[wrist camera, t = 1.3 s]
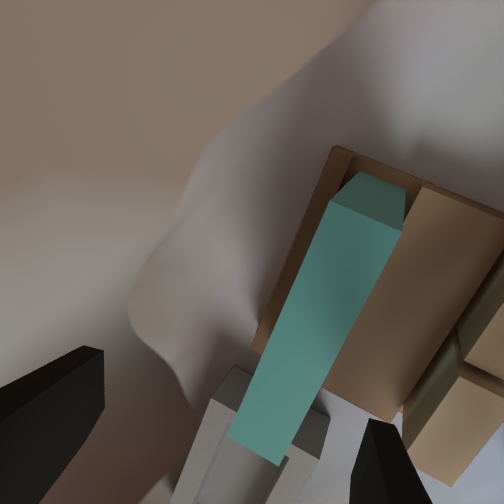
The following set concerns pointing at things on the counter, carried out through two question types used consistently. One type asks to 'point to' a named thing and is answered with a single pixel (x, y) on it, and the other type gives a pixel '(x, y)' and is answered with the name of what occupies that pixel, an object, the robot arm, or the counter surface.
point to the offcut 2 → (485, 324)
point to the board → (319, 312)
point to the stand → (245, 456)
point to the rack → (398, 284)
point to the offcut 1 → (451, 414)
